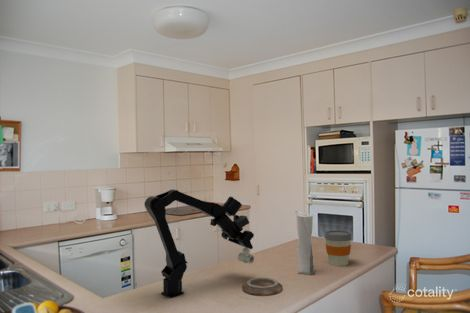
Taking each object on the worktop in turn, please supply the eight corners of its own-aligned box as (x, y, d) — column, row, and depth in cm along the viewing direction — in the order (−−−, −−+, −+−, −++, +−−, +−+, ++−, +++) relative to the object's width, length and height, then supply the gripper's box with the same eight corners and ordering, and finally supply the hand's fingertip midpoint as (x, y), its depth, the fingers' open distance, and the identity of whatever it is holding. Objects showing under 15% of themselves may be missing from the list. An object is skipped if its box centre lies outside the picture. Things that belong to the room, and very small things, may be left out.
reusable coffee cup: (342, 268, 177) (341, 236, 177) (320, 263, 187) (319, 232, 187) (356, 263, 185) (356, 232, 185) (334, 258, 195) (334, 229, 195)
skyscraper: (294, 273, 171) (293, 211, 171) (298, 268, 179) (296, 209, 179) (313, 275, 168) (312, 212, 168) (316, 270, 176) (315, 209, 176)
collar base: (264, 299, 141) (264, 292, 141) (234, 289, 152) (234, 282, 152) (290, 288, 152) (290, 281, 152) (260, 279, 164) (260, 273, 164)
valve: (245, 259, 171) (245, 233, 171) (256, 262, 166) (256, 235, 166) (235, 263, 166) (235, 235, 166) (246, 265, 162) (246, 237, 162)
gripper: (249, 212, 156) (271, 236, 162) (227, 207, 172) (247, 229, 178) (233, 233, 152) (256, 257, 158) (211, 226, 168) (233, 248, 174)
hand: (248, 247), depth 167 cm, fingers closed on valve, 5 cm apart
